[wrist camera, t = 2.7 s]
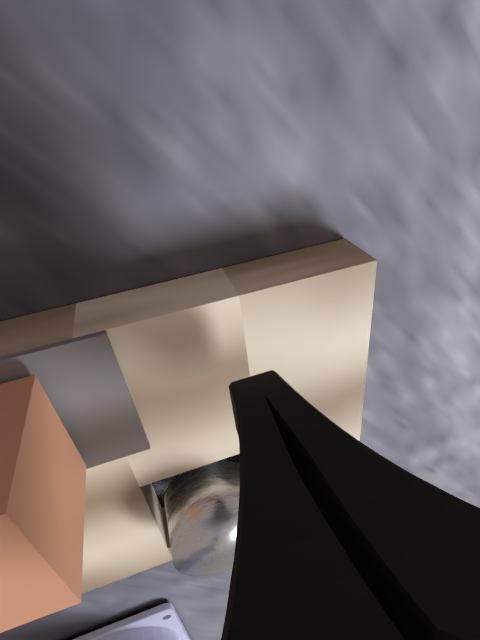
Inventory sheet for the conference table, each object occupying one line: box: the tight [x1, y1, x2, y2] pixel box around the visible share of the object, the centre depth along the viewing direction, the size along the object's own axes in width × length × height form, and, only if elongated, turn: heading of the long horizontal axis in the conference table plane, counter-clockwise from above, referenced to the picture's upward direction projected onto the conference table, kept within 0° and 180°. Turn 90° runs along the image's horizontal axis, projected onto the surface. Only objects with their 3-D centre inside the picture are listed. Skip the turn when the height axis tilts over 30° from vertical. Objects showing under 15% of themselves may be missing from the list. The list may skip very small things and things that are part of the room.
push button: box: [164, 460, 240, 576], centre depth 16 cm, size 4×4×2 cm
